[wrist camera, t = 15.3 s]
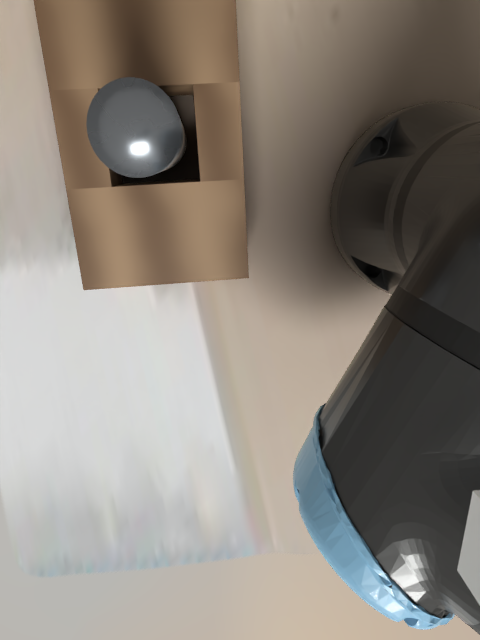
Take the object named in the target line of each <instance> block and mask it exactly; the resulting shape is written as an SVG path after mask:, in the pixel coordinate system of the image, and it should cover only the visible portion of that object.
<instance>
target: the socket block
mask: <svg viewBox="0 0 480 640" xmlns="http://www.w3.org/2000/svg"><path fill="white" fill-rule="evenodd" d="M34 6H35V11H36V17H37V23H38V29H39V35H40V40H41V46H42V52H43V58H44V63H45V69H46V75H47V81H48V87H49V92H50V98H51V104H52V110H53V116H54V121H55V127H56V133H57V139H58V145H59V150H60V156H61V162H62V168H63V174H64V179H65V185H66V191H67V197H68V202H69V208H70V214H71V220H72V226H73V231H74V237H75V243H76V249H77V255H78V260H79V266H80V272H81V278H82V284H83V289H84V290H91V289H105V288H119V287H132V286H146V285H159V284H173V283H187V282H200V281H214V280H228V279H241V278H249V274H248V253H247V231H246V210H245V189H244V168H243V146H242V125H241V104H240V83H239V61H238V40H237V19H236V0H34ZM125 77H135V78H141V79H144V80H147V81H149V82H151V83H153V84H155V85H156V86H158V87H159V88H161V89H162V90H163V91H164V92H165V93H166V94H167V95H168V96H176V95H193V97H194V110H195V122H196V135H197V148H198V161H199V174H200V179H191V180H174V181H156V182H139V183H123V181H122V175H121V174H118V173H116V172H114V171H113V170H111V169H110V168H108V167H107V166H106V165H105V164H104V163H103V162H102V161H101V160H100V159H99V158H98V157H97V155H96V154H95V152H94V150H93V148H92V146H91V144H90V141H89V138H88V134H87V126H86V122H87V113H88V109H89V106H90V104H91V101H92V99H93V98H94V96H95V95H96V93H97V92H98V91H99V90H100V89H101V88H102V87H103V86H105V85H106V84H108V83H109V82H111V81H113V80H116V79H120V78H125Z"/></svg>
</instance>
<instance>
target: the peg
mask: <svg viewBox="0 0 480 640" xmlns="http://www.w3.org/2000/svg"><path fill="white" fill-rule="evenodd" d="M86 126H87V134H88V138H89V141H90V144H91V146H92V148H93V150H94V152H95V154H96V155H97V157H98V158H99V159H100V160H101V161H102V162H103V163H104V164H105V165H106V166H107V167H108V168H110V169H111V170H113V171H114V172H116V173H118V174H121V175H123V176H127V177H133V178H142V177H148V176H152V175H154V174H157V173H159V172H162V171H165V170H167V169H170V168H172V167H173V166H175V165H176V164H177V163H178V162H179V161H180V160H181V159H182V157H183V155H184V153H185V150H186V145H187V138H186V133H185V130H184V127H183V125H182V122H181V120H180V117H179V115H178V112H177V110H176V107H175V106H174V104H173V102H172V101H171V99H170V98H169V96H168V95H167V94H166V93H165V92H164V91H163V90H162V89H161V88H159V87H158V86H156V85H155V84H153V83H151V82H149V81H147V80H144V79H141V78H135V77H125V78H120V79H116V80H113V81H111V82H109V83H108V84H106V85H105V86H103V87H102V88H101V89H100V90H99V91H98V92H97V93H96V95H95V96H94V98H93V99H92V101H91V104H90V106H89V109H88V113H87V122H86Z"/></svg>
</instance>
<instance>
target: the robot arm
mask: <svg viewBox="0 0 480 640" xmlns="http://www.w3.org/2000/svg"><path fill="white" fill-rule="evenodd" d="M330 217H331V226H332V231H333V235H334V239H335V242H336V244H337V247H338V249H339V251H340V253H341V255H342V256H343V258H344V259H345V261H346V262H347V264H348V265H349V266H350V267H351V268H352V269H353V270H354V271H355V272H356V273H357V274H358V275H359V276H361V277H362V278H363V279H365V280H366V281H368V282H369V283H370V284H372V285H373V286H375V287H377V288H379V289H381V290H383V291H385V292H388V293H391V294H392V296H391V297H390V299H389V301H388V302H387V304H386V305H385V306H384V308H383V309H382V311H381V313H380V315H379V316H378V318H377V320H376V322H375V323H374V325H373V327H372V328H371V330H370V332H369V334H368V335H367V337H366V339H365V340H364V342H363V344H362V346H361V347H360V349H359V351H358V352H357V354H356V355H355V357H354V359H353V360H352V362H351V364H350V365H349V367H348V369H347V370H346V372H345V374H344V375H343V377H342V378H341V380H340V382H339V383H338V385H337V387H336V388H335V390H334V392H333V393H332V395H331V396H330V398H329V400H328V401H327V403H326V404H324V405H322V406H320V408H319V410H318V411H317V413H316V415H315V418H314V422H313V427H312V429H311V431H310V433H309V435H308V437H307V439H306V440H305V442H304V444H303V446H302V448H301V450H300V452H299V454H298V456H297V459H296V462H295V466H294V473H293V484H294V490H295V495H296V498H297V500H298V502H299V511H300V514H301V517H302V519H303V521H304V523H305V526H306V528H307V530H308V532H309V534H310V536H311V537H312V539H313V541H314V543H315V544H316V546H317V547H318V549H319V550H320V552H321V553H322V555H323V556H324V558H325V559H326V560H327V562H328V563H329V564H330V566H331V567H332V568H333V569H334V570H335V572H336V573H337V574H338V575H339V576H340V578H342V580H343V581H344V582H345V583H346V584H347V585H348V586H349V587H350V588H351V589H352V590H353V591H354V592H355V593H356V594H357V595H358V596H359V597H360V598H362V599H363V600H364V601H365V602H366V603H367V604H369V605H370V606H371V607H373V608H374V609H375V610H377V611H379V612H380V613H381V614H383V615H385V616H386V617H388V618H390V619H392V620H394V621H397V622H399V621H401V620H403V619H404V621H405V622H406V623H407V625H408V626H410V627H413V628H417V629H431V628H434V627H437V626H438V625H443V624H447V623H448V622H449V621H450V620H451V619H453V617H454V615H456V616H458V617H459V618H460V619H461V620H462V621H464V622H465V623H466V624H467V625H469V626H470V627H471V628H472V629H474V630H475V631H476V632H477V633H478V634H480V109H478V108H475V107H472V106H470V105H466V104H462V103H455V102H430V103H425V104H420V105H416V106H412V107H408V108H405V109H402V110H399V111H397V112H394V113H392V114H390V115H388V116H386V117H385V118H383V119H381V120H380V121H378V122H377V123H376V124H374V125H373V126H372V127H370V128H369V129H368V130H367V131H366V132H365V133H364V134H363V135H362V136H361V137H360V138H359V139H358V140H357V141H356V143H355V144H354V145H353V146H352V148H351V149H350V151H349V152H348V154H347V155H346V157H345V159H344V160H343V162H342V164H341V166H340V169H339V171H338V173H337V176H336V179H335V182H334V186H333V191H332V196H331V206H330Z"/></svg>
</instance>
